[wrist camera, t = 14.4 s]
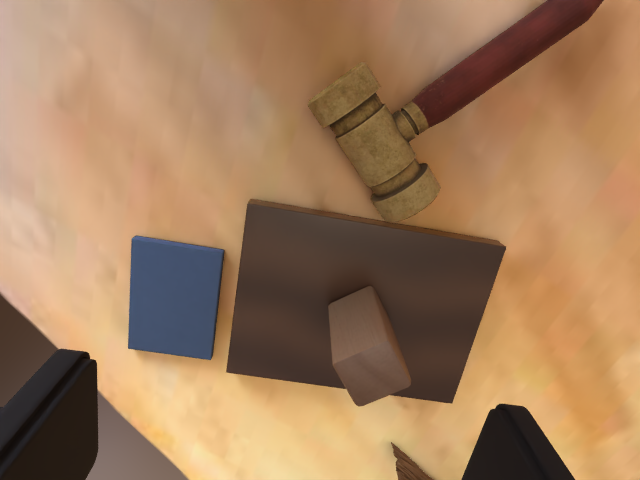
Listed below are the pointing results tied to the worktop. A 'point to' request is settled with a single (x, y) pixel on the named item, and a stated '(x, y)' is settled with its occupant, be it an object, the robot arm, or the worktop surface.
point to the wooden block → (366, 348)
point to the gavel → (430, 107)
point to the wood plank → (407, 467)
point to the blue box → (174, 297)
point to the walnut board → (351, 276)
